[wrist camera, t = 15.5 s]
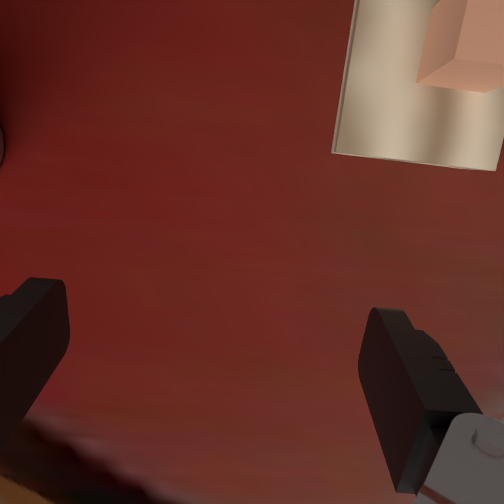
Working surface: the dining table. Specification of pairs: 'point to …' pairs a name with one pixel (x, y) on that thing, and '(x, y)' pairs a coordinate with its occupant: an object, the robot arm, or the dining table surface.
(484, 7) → the terracotta block
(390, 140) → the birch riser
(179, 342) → the dining table surface
